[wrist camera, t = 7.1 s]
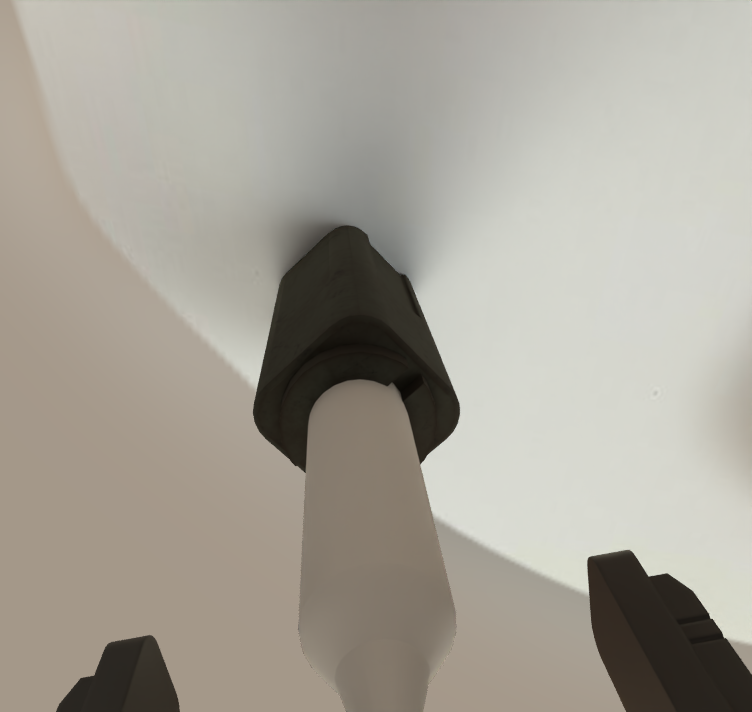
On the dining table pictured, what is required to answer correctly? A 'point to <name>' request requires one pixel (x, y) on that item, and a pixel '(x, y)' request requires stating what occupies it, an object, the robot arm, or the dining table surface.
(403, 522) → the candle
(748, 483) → the dining table surface
